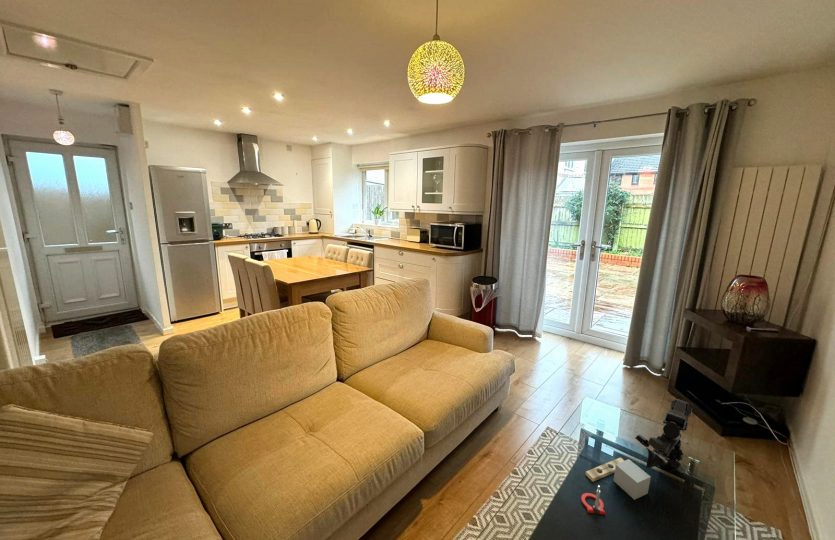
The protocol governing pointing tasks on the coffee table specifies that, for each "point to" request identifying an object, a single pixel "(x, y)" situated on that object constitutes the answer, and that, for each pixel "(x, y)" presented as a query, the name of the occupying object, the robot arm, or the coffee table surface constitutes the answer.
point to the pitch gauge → (603, 470)
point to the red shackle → (596, 508)
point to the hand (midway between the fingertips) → (647, 467)
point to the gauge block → (631, 479)
